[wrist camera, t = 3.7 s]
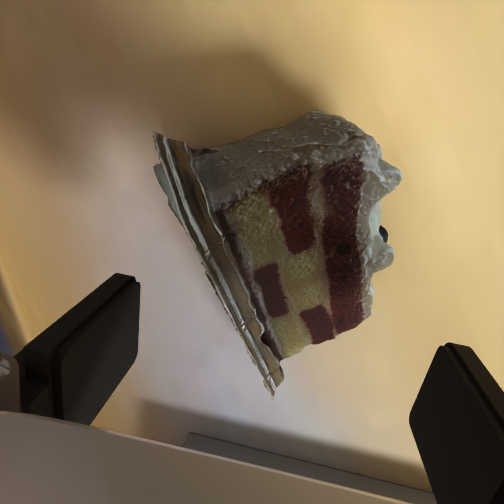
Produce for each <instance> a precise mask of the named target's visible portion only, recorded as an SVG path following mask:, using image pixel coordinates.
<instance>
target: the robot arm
mask: <svg viewBox="0 0 504 504" xmlns="http://www.w3.org/2000/svg"><path fill="white" fill-rule="evenodd" d="M139 310H140V283H139V282H136V279H135V277H134V276H129V275H124V274H120V273H115V274H114V275H113V276H111V277H110V278H109V279H108V280H106V281H105V282H104V283H103V284H101V285H100V286H99V287H98V288H96V289H95V290H94V291H93V292H91V293H90V294H89V295H88V296H87V297H85V298H84V299H83V300H82V301H80V302H79V303H78V304H77V305H75V306H74V307H73V308H72V309H70V310H69V311H68V312H67V313H65V314H64V315H63V316H62V317H61V318H59V319H58V320H57V321H56V322H54V323H53V324H52V325H51V326H49V327H48V328H47V329H46V330H44V331H43V332H42V333H41V334H39V335H38V336H37V337H36V338H35V339H33V340H32V341H31V342H30V343H28V344H27V345H26V346H25V347H23V350H21V351H20V352H19V353H18V354H17V355H15V356H14V357H12V356H11V355H7V354H4V353H0V504H412V503H408V502H404V501H400V500H396V499H392V498H388V497H384V496H380V495H376V494H372V493H368V492H364V491H360V490H356V489H352V488H348V487H344V486H340V485H336V484H332V483H328V482H324V481H320V480H315V479H311V478H307V477H303V476H299V475H295V474H291V473H287V472H283V471H279V470H275V469H270V468H266V467H262V466H258V465H254V464H250V463H246V462H242V461H237V460H233V459H229V458H225V457H221V456H217V455H213V454H208V453H204V452H200V451H196V450H192V449H187V448H183V447H179V446H175V445H170V444H166V443H162V442H158V441H154V440H149V439H145V438H141V437H137V436H133V435H128V434H124V433H120V432H115V431H111V430H107V429H102V428H98V427H94V426H90V424H91V423H92V421H93V420H94V419H95V417H96V416H97V414H98V413H99V412H100V410H101V409H102V407H103V406H104V404H105V403H106V402H107V400H108V399H109V397H110V396H111V394H112V393H113V392H114V390H115V389H116V387H117V386H118V385H119V383H120V382H121V380H122V379H123V377H124V376H125V375H126V373H127V372H128V370H129V369H130V367H131V366H132V365H133V363H134V361H135V359H136V357H137V353H138V334H139ZM409 424H410V427H411V430H412V433H413V436H414V439H415V442H416V445H417V447H418V450H419V453H420V456H421V459H422V462H423V465H424V468H425V470H426V473H427V476H428V479H429V482H430V485H431V488H432V491H433V493H434V496H435V499H436V502H437V504H504V392H503V390H502V389H501V388H500V386H499V385H498V384H497V382H496V381H495V380H494V378H493V377H492V375H491V374H490V373H489V371H488V370H487V369H486V367H485V366H484V365H483V363H482V362H481V361H480V359H479V358H478V356H477V355H476V354H475V352H474V351H473V350H472V349H471V348H470V347H468V346H464V345H459V344H454V343H450V342H449V343H446V344H445V345H444V346H440V347H439V348H438V349H437V351H436V353H435V356H434V358H433V360H432V363H431V365H430V367H429V370H428V372H427V374H426V377H425V379H424V381H423V384H422V386H421V388H420V391H419V393H418V395H417V398H416V400H415V402H414V405H413V407H412V409H411V412H410V415H409Z"/></svg>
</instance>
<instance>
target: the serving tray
mask: <svg viewBox="0 0 504 504" xmlns="http://www.w3.org/2000/svg"><path fill="white" fill-rule="evenodd" d="M183 448H187V449H192V450H196V451H200V452H204V453H208V454H213V455H217V456H221V457H225V458H229V459H233V460H237V461H242V462H246V463H250V464H254V465H258V466H262V467H266V468H270V469H275V470H279V471H283V472H287V473H291V474H295V475H299V476H303V477H307V478H311V479H315V480H320V481H324V482H328V483H332V484H336V485H340V486H344V487H348V488H352V489H356V490H360V491H364V492H368V493H372V494H376V495H380V496H384V497H388V498H392V499H396V500H400V501H404V502H408V503H412V504H437V502H436V499H435V496H434V494H433V493H429V492H425V491H421V490H417V489H413V488H409V487H405V486H401V485H397V484H393V483H389V482H385V481H381V480H377V479H373V478H369V477H365V476H361V475H357V474H353V473H349V472H345V471H341V470H337V469H333V468H329V467H325V466H321V465H317V464H313V463H309V462H305V461H301V460H297V459H293V458H289V457H285V456H281V455H277V454H273V453H269V452H265V451H261V450H257V449H253V448H249V447H245V446H241V445H237V444H233V443H229V442H225V441H221V440H217V439H213V438H208V437H204V436H200V435H196V434H192V433H189V434H188V436H187V439H186V442H185V444H184V447H183Z"/></svg>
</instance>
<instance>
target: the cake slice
mask: <svg viewBox="0 0 504 504" xmlns="http://www.w3.org/2000/svg"><path fill="white" fill-rule="evenodd" d="M154 133H156V135H155V134H154V136H153V138H154V139H155V140H156V141H155V140H154V142H155V147H156V149H157V150H158V152H159V160H160V161H161V162H160V163H161V164H156V163H155V164H156V166H157V167H156V166H154V171H155V174H156V177H157V179H158V182H159V184H160V186H161V187H162V189H163V191H164V192H165V193H166V195H167V196H168V205H169V206H170V208H171V210H172V211H173V212H174V214H175V215H176V217H177V218H178V220H179V221H180V223H181V225H182V226H183V227H184V229H185V230H186V234H187V235H188V236H189V238H190V240H191V242H192V243H193V245H194V248H195V252H196V253H197V254H198V256H199V258H200V260H201V263H202V265H203V266H204V267H205V269H206V272H205V274H206V276H207V277H208V279H209V281H210V282H211V284H212V286H213V288H214V289H215V291H216V295H217V296H218V297H219V299H220V300H221V302H222V305H223V306H224V309H225V311H226V312H227V314H228V313H229V315H230V318H231V320H232V322H233V324H234V325H235V327H236V330H237V331H238V332H239V333H240V336H241V337H242V339H243V341H244V344H245V346H246V348H247V352H248V354H249V355H250V357H251V359H252V361H253V363H254V364H255V365H257V368H258V369H259V371H260V372H261V375H262V376H263V377H264V381H263V382H264V386H265V387H266V388H267V390H268V391H269V392H270V394H271V399H272V398H273V397H274V393H275V390H276V388H277V387H278V386H279V385H280V383H281V382H282V381H283V380H284V374H283V370H282V368H281V366H280V362H279V361H281V360H282V359H284V358H288V357H291V356H292V355H294V354H297V353H299V352H300V351H301V350H302V349H303V348H304V347H305V346H307V345H309V344H320V343H322V342H324V341H327V340H331V339H334V338H335V337H336V336H337V335H338V334H340V333H342V332H345V331H348V330H351V329H353V328H355V327H357V326H358V325H359V324H360V323H361V322H362V321H364V320H365V319H366V318H368V317H369V316H370V315H371V314H372V312H371V310H372V303H373V293H374V292H373V288H372V285H371V277H372V275H373V274H374V273H375V272H377V271H379V270H383V269H385V268H387V267H388V266H390V265H391V264H392V262H393V259H394V250H393V248H392V247H391V246H389V245H388V244H386V242H387V240H388V233H387V231H386V229H385V228H384V227H382V226H380V223H381V205H380V202H381V199H382V198H383V197H384V196H386V195H387V194H388V193H390V192H391V191H393V190H394V189H395V188H396V187H397V186H398V185H399V184H400V181H401V179H402V173H401V171H400V170H399V169H397V168H396V167H394V166H392V165H390V164H389V163H387V162H385V161H384V160H382V153H381V147H380V145H378V144H377V143H376V141H375V139H374V138H373V137H372V136H370V135H367V134H366V133H365V132H363V131H362V130H361V129H360V128H359V127H357V126H356V125H355V124H353V123H351V122H349V121H347V120H346V119H344V118H342V117H340V116H336V115H328V114H326V113H324V112H321V111H312V112H309V113H307V114H305V115H302V116H300V117H299V118H297V119H296V120H294V121H292V122H290V123H289V124H287V125H286V126H284V127H280V128H278V129H267V130H264V131H262V132H260V133H257V134H255V135H252V136H249V137H247V138H245V139H243V140H239V141H235V142H233V143H230V144H226V145H222V146H220V147H217V148H206V147H202V148H200V149H191V148H189V147H188V145H187V144H186V142H180V141H176V140H171V139H168V138H166V137H164V136H163V135H161V134H160V133H157V132H154Z"/></svg>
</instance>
